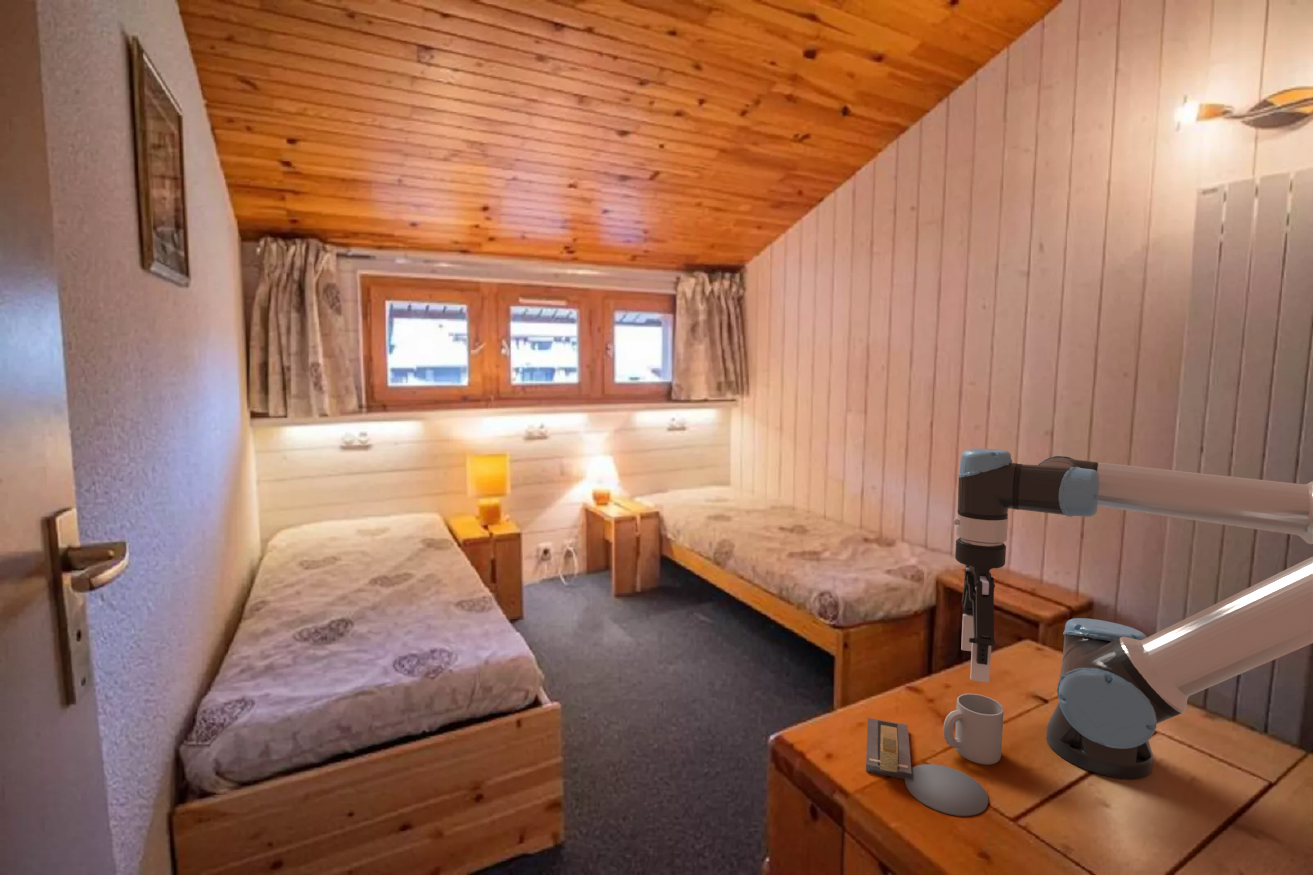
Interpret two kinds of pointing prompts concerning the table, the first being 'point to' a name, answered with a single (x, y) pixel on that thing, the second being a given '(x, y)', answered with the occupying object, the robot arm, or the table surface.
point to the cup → (976, 728)
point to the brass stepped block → (888, 749)
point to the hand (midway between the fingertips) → (974, 664)
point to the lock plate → (874, 749)
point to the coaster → (947, 790)
